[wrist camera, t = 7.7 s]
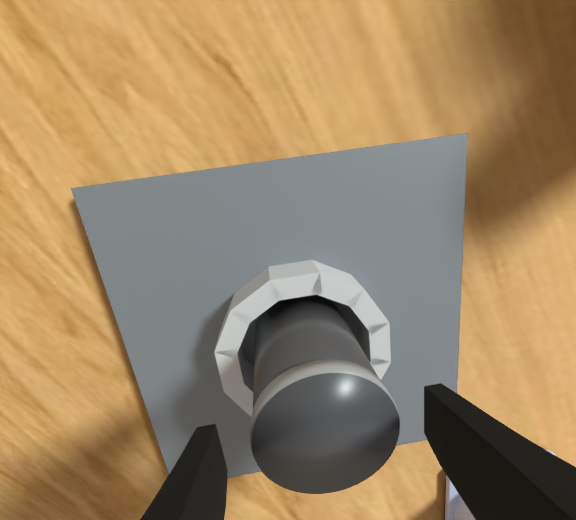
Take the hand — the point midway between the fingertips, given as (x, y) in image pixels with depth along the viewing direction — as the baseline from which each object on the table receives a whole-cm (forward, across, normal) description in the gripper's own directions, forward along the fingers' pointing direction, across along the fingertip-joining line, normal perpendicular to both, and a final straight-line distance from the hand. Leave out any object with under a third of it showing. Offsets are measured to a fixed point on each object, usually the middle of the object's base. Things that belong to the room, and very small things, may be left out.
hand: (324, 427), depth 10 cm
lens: (+6, 0, 0) cm, 6 cm away
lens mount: (+7, 0, 0) cm, 7 cm away
